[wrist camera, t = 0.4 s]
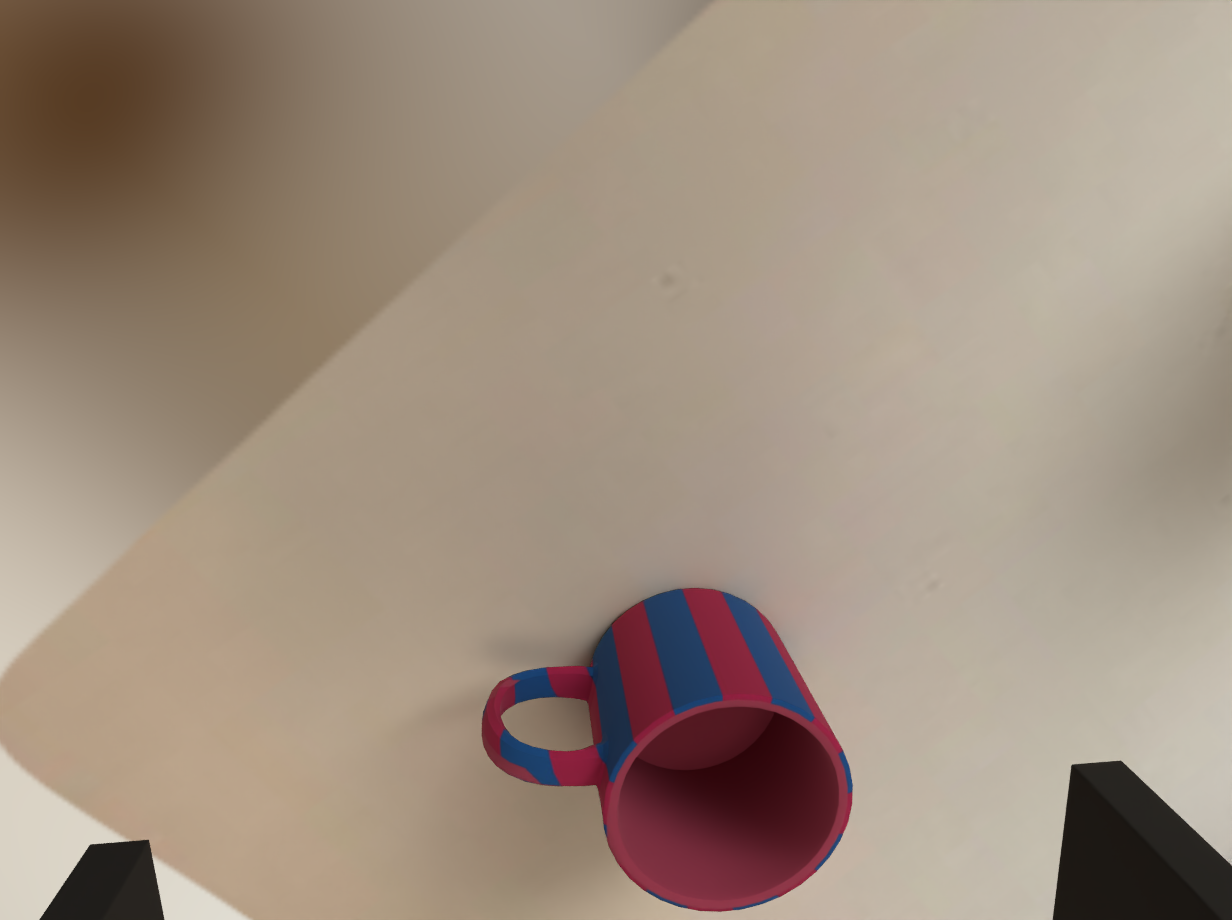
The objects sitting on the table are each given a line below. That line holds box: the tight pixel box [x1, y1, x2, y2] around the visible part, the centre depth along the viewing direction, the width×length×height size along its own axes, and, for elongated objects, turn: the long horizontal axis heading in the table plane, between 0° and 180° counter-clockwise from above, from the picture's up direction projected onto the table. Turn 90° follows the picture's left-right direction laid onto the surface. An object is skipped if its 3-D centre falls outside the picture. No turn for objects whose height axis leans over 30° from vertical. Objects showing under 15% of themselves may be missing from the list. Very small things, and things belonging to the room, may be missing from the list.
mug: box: [482, 588, 853, 912], centre depth 28 cm, size 7×10×7 cm
